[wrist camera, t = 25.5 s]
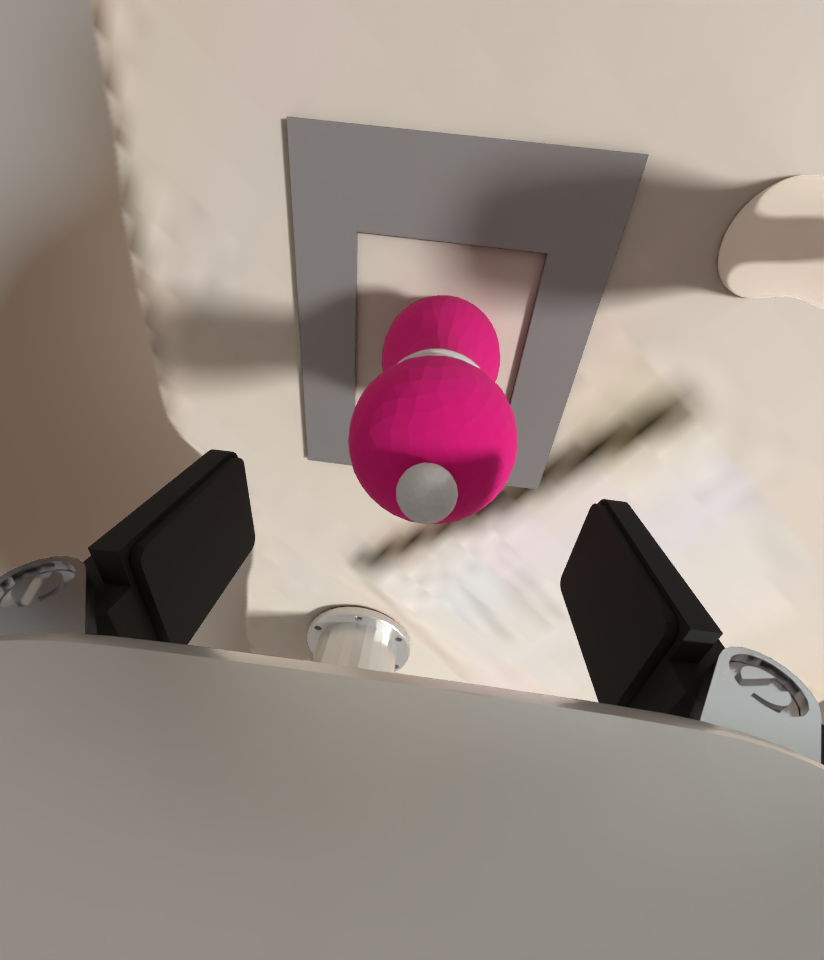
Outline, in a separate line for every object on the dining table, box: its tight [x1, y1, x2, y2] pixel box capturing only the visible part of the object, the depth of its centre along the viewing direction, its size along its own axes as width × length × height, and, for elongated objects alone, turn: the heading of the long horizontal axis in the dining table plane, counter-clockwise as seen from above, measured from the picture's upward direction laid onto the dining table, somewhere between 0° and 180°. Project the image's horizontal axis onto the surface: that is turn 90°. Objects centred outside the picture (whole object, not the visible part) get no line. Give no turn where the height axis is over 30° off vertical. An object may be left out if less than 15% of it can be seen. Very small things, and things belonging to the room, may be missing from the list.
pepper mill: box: [348, 295, 517, 524], centre depth 19 cm, size 7×7×20 cm
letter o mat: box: [287, 117, 648, 489], centre depth 27 cm, size 22×20×1 cm
